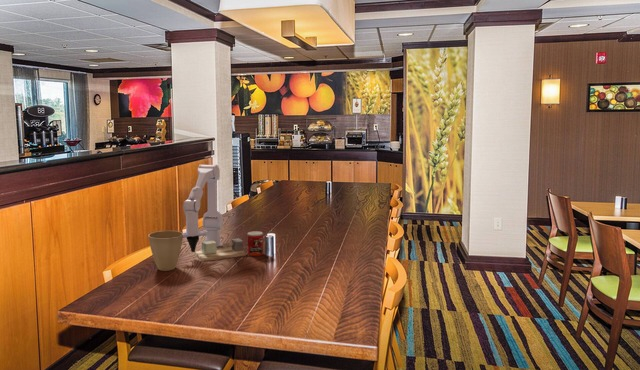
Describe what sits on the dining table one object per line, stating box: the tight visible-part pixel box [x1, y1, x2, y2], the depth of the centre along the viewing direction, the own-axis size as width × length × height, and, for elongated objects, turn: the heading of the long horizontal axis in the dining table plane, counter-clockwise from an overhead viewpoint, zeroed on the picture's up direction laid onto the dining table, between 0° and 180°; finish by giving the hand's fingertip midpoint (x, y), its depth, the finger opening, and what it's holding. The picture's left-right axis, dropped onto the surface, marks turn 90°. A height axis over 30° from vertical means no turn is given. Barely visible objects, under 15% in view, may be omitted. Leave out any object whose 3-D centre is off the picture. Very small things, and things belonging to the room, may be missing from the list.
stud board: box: [194, 238, 247, 262], centre depth 247 cm, size 14×22×6 cm, turn 118°
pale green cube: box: [201, 241, 218, 254], centre depth 245 cm, size 5×6×5 cm
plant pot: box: [147, 230, 184, 272], centre depth 224 cm, size 15×15×16 cm
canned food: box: [246, 230, 264, 257], centre depth 248 cm, size 8×8×11 cm
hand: (193, 251), depth 241 cm, fingers closed
